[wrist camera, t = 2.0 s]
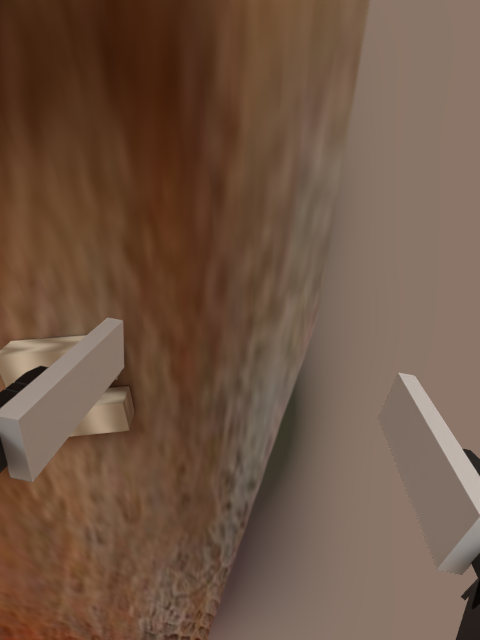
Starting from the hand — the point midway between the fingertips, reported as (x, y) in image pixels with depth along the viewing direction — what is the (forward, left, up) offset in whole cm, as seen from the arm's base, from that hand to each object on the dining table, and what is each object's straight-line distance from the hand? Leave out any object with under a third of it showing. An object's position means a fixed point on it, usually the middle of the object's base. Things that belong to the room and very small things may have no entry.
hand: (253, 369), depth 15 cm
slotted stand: (-8, -27, -28) cm, 40 cm away
